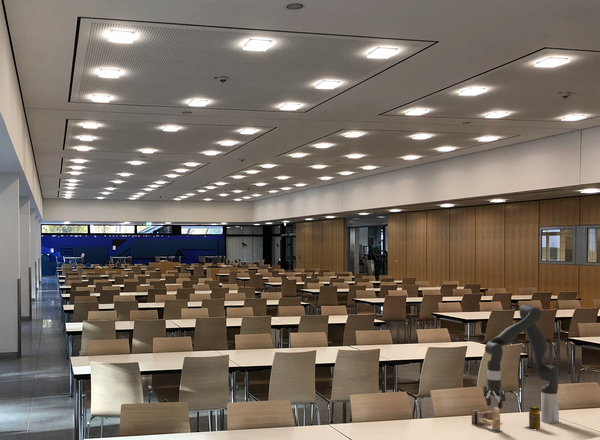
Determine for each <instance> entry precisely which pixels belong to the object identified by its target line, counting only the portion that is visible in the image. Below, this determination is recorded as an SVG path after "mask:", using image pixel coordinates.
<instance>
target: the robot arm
mask: <svg viewBox="0 0 600 440" xmlns="http://www.w3.org/2000/svg"><path fill="white" fill-rule="evenodd" d="M542 313H543V312H542V310H541V309H540V308H539V307H536V306H534V305H531V304H527V303H525V304H522V305H521V306H520V308H519V317H520V319H521V320H520V321H519V322H517V323H514V324H512V325H510V326H508V327H506V328H505V329H503V330H502V332H500V333H499V334H498V335H497V336H495V337H493V338H492V339H490V340H489V341H488V342H487V343H486V344H485V346H484V350H485V352H486V353H487V354H488V355H491V357H490V359H488V360H487V373H486V380H487V383H486V384H487V385H486V386H485V385H484V386H483V397H484V398H486V405H487V406H491V405H492V397H494V398H495V399H497V408H498V409H500V410H502V409H503V402H506V391H505V390H504V389H503V390H501V387H502V372H501V371H502V370H501V363H502V359H503V353H504V352H503V351H504V349H503V347H504V346H508V345H509V344H510V343H512V341H513V340H514V339H515V338H517V336H519V335H520V334H522V333H523V332H526V334H527V338H528V342H529V345H530V348H531V351H532V354H533V358H534V362H535V367H536V372H537V376H538V378H539V379H540V380H542V381H546V382H548V384H547V385H542V386H541V387H540V422H543V423H546V424H557V423H558V422H560V413H559V412H560V407H559V405H558V404H559V403H558V400H559V399H558V398H559V397H558V389H559V378H560V377H559V373H560V372H559V368H558V367H557V366H555V365H550V364H546V363H545V362H544V357H545V356H546V353H547V351H548V342H547V340H546V339H547V338H546V337H545V335H544V334H543V332H542V330H541V329H540V328H539V326H538V325H537V324H536V323H538V322H539V321H540V320H541V318H542Z"/></svg>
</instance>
